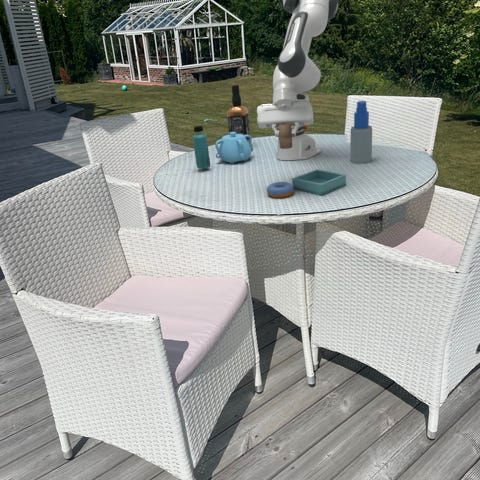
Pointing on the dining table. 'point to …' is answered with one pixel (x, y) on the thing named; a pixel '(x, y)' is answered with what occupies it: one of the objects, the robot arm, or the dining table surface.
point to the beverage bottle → (201, 148)
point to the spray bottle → (361, 136)
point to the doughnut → (280, 189)
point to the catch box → (319, 182)
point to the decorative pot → (234, 148)
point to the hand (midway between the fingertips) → (285, 135)
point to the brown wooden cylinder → (285, 136)
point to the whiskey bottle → (238, 115)
